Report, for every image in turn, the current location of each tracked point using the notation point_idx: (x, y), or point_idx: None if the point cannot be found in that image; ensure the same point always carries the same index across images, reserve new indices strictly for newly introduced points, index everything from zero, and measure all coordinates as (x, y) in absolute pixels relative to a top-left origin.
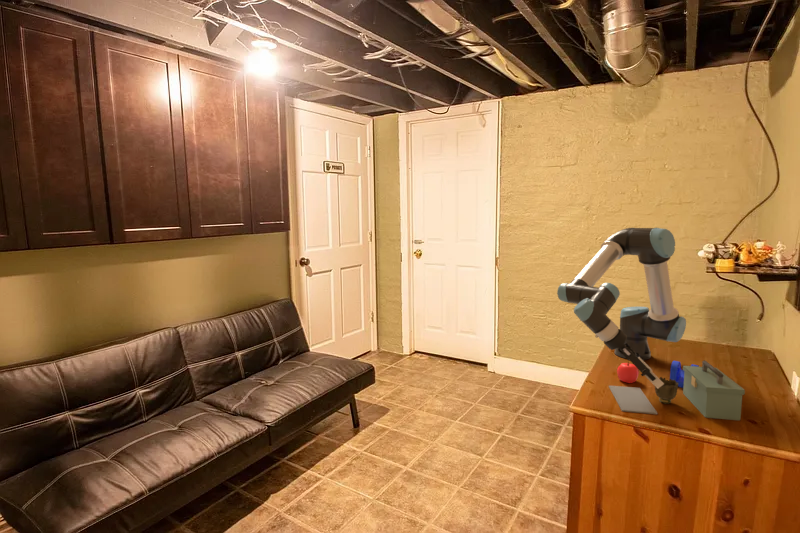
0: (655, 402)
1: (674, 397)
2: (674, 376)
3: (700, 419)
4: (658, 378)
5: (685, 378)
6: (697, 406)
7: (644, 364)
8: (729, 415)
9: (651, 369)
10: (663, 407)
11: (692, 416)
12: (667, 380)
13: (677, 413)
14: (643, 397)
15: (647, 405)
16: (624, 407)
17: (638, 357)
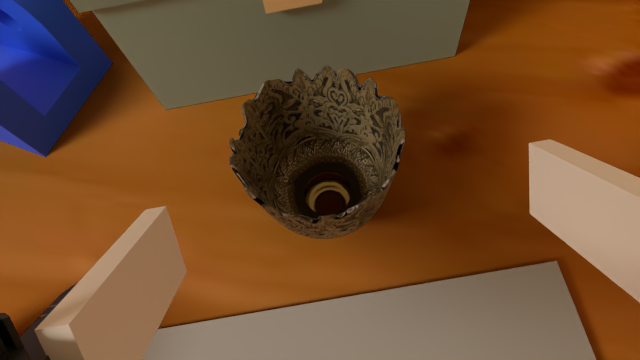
0: (353, 256)
1: (351, 141)
2: (18, 106)
3: (492, 75)
4: (597, 162)
5: (140, 39)
6: (358, 65)
7: (136, 270)
8: None
9: (164, 213)
10: (415, 219)
11: (472, 101)
12: (243, 131)
13: (470, 160)
14: (317, 323)
15: (456, 311)
16: None
17: (59, 340)
